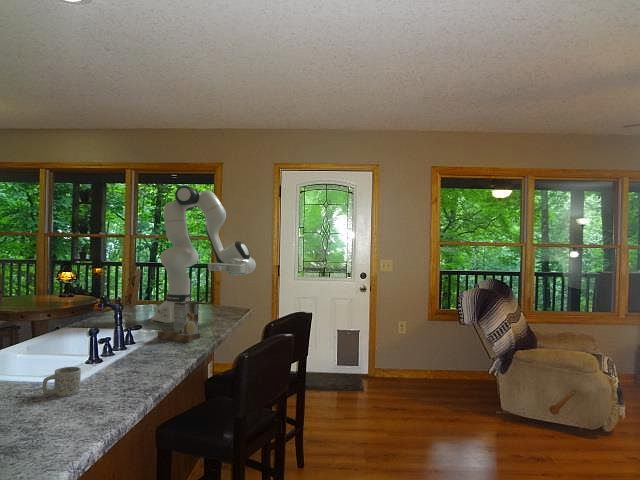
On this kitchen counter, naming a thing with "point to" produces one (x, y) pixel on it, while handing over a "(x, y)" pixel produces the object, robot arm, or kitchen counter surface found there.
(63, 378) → the mug
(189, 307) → the coffee box
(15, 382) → the kitchen counter surface
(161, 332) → the walnut dock
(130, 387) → the kitchen counter surface
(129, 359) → the kitchen counter surface
